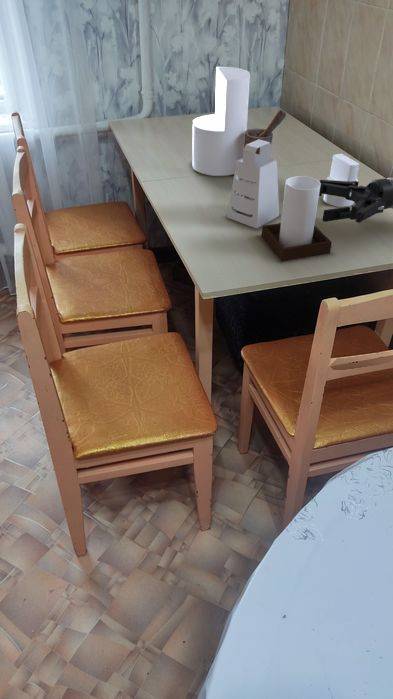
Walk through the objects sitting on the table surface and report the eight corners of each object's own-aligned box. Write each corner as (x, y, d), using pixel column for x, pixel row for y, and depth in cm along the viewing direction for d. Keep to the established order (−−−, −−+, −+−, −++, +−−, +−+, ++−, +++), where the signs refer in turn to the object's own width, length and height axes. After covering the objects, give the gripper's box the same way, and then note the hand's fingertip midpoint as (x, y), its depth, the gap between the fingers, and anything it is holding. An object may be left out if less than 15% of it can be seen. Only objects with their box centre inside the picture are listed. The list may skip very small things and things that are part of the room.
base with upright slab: (360, 203, 158) (369, 162, 150) (334, 208, 155) (341, 167, 147) (342, 191, 164) (350, 152, 156) (317, 196, 161) (323, 156, 154)
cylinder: (238, 155, 187) (243, 65, 169) (249, 174, 174) (255, 79, 156) (189, 157, 185) (188, 67, 167) (195, 177, 172) (196, 81, 154)
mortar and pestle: (272, 167, 179) (278, 103, 166) (282, 177, 172) (289, 111, 159) (238, 170, 176) (242, 106, 163) (247, 181, 170) (252, 114, 157)
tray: (306, 230, 145) (308, 218, 142) (329, 253, 135) (332, 242, 133) (261, 236, 142) (262, 225, 140) (281, 261, 132) (282, 249, 130)
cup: (275, 236, 141) (282, 176, 131) (306, 234, 141) (315, 175, 131) (282, 252, 134) (290, 190, 124) (315, 250, 135) (325, 189, 125)
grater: (226, 217, 150) (229, 144, 138) (248, 204, 157) (253, 134, 144) (256, 228, 145) (263, 154, 132) (279, 215, 151) (286, 143, 139)
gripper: (412, 229, 130) (332, 241, 125) (358, 188, 148) (287, 197, 143) (420, 199, 125) (338, 211, 120) (364, 161, 144) (290, 170, 139)
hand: (310, 204), depth 132 cm, fingers open, 13 cm apart
